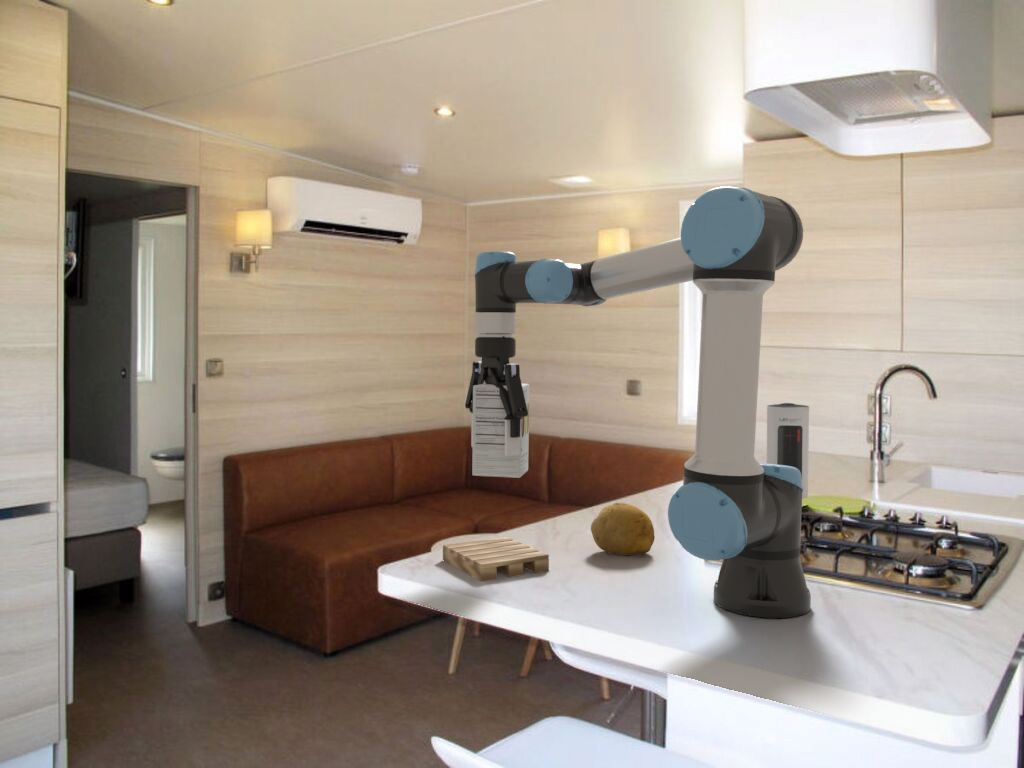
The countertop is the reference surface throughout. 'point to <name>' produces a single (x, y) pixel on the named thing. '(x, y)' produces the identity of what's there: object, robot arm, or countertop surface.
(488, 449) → the supplement box
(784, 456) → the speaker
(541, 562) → the wooden pallet
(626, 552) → the potato
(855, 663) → the countertop surface
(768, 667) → the countertop surface
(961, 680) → the countertop surface
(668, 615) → the countertop surface
